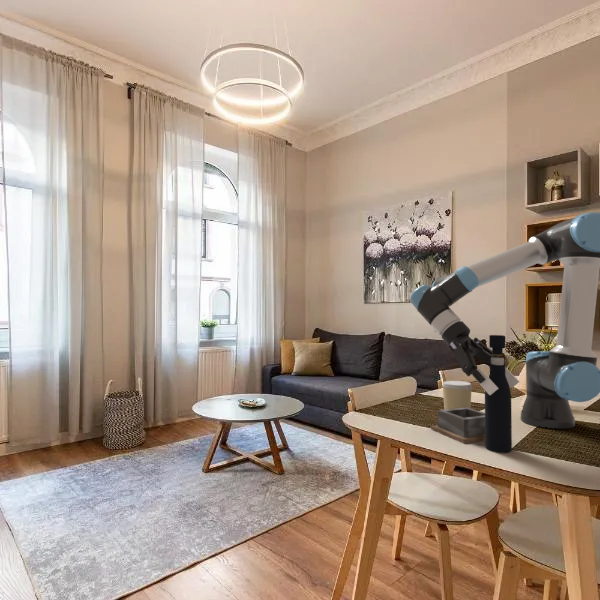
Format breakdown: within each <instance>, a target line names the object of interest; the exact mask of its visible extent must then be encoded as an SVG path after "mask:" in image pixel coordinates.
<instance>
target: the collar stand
mask: <svg viewBox="0 0 600 600" xmlns="http://www.w3.org/2000/svg"><path fill="white" fill-rule="evenodd" d="M437 415H438V416H437V418H438V421H437V423H438V424H437V425H431V426H430V429H431V431H434V432H436V433H438V434H441V435H443V436H446V437H448V438H451V439H452V440H456V441H457V442H459V443H462V444H468V443H476V442H482V441H484V442H485V412H483V411H480V410H477V409H474V408H471V407H470V408H467V407H466V408H456V409H447V410H444V409H439V410H437Z"/></svg>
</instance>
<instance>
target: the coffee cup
mask: <svg viewBox="0 0 600 600" xmlns="http://www.w3.org/2000/svg"><path fill="white" fill-rule="evenodd" d="M441 386H442V395H443V396H442V397H443V407H444V408H443V410H447V409H456V408H466V407H467V408H471V406H472V405H471V403H472V389H473V385H472V384H471V382H469V381H465V380H464V381H462V380H444V381H443V382H442V384H441Z"/></svg>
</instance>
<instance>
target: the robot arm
mask: <svg viewBox="0 0 600 600" xmlns="http://www.w3.org/2000/svg"><path fill="white" fill-rule="evenodd" d="M555 261H559V262H560V263H561V264H562V265H563V267H564V268H563V275H562V276H563V277H562V287H561V295H560V305H559V308H560V309H559V317H558V326H557V327H558V328H557V335H556V336H557V338H556V345H555V346H554V347H553V348H551V349H550V350H549V351H542V350H541V351H538V350H537V351H528V352H527V354H526V358H525V376H526V377H525V379H526V381H525V382H526V385H525V386H526V390H525V391H526V397H525V400H524V403H523V405H522V410H520V420H521V421H522V422H523V423H525V424H527V425H532V426H535V427H539V426H540V427H541V428H545V427H547V428H546V429H555V428H556V430H557V429H558V430H559V429H561V430H562V429H564V430H565V429H566V430H567V429H572V428H574V427H576V419H575V416H574V414H573V411H572V408H571V405H570V402H569V401H571V402H576V403H584V402H585V403H586V402H588V401H591V400H593V399H594V398H595V397H597V396H598V395H599V394H600V368H598V366H597V361H598V356H597V354H596V353H595V352H594V351H593V350H592V348H593V347H592V345H593V335H594V324H595V315H596V306H597V296H598V287H599V285H598V284H599V276H600V212H598V211H597V212H596V211H595V212H593V211H592V212H586V213H581V214H578V215H577V216H575V217H573V218H570V219H566V220H564V221H562V222H558V223H557V224H555V225H553V226H551V227H549V228H547V229H546V230H544V231H543V232H540V233H538V234H536V235H534V236H531V237H530V238H528V240H527V242H525V243H523V244H520V245H518V246H515V247H513V248H510V249H508V250H507V249H506V250H504V251H503V252H499V253H498V254H495V255H493V256H490V257H488V258H485V259H483V260H480V261H478V262H476V263H472V264H471V265H470V264H469V265H467V266H466V265H464V266H460V268H458V269H456V270H454V272H451V273H448V274H445V275H443V276H439V277H437V278H436V279H435V280H434V281H433V282H432V285H431V286H430V285H429V284H423V285H421V286H419V287H417V288H416V289H414V291H413V292H412V293H411V295H410V303H411V304H412V305H413V306H414V308H415V309H416V311H417V312H418V313H419V314H420V315H421V317H423V319H425V321H426V322H427V323H428V324H429V325H430V326H431V327H432V329H433V330H434V332H435V333H437V334H438V335H439V336H440V337H441V340H443V341H444V342H445V344H446V345H447V347H448V348H449V349H450V350H451V352H452V353H453V355H454V357H455V359H456V361H457V363H458V365H459V366H460V368H461V371H462V372H463V373H464V374H465V375H466V376H467V377H470V376H472V377H473V378H474V380H476V382H477V383H478V384H479V385H480V386H481V387H482V388H483V390H484V392H485V391H486V392H487V393H488V394H489V395H491V394H493V393H494V392H495V391H496V390H497V389H499V388H498V387H497V386H496V385H495V384H494V383H493V382H492V381H491V380H490V378H489V375H487V374H486V373H485V371H483V369H482V368H478V364H477V362H476V360H475V358H479V359H481V360H482V361H483V362H485V363H486V364H488V365H490V364H491V357H501V356H493V355H492V348H490V347H488V346H487V345H486V344H485V343H483V342H482V341H481V340H479V338H477V337H474V338H473V339H472V338H471V337H470V333H471V328H469V326H467V324H466V323H465V322H464V321H462V320H461V318H460V317H459V316H458V315H457V313H455V312H454V310H452V309H451V307H452V306H453V305H454V304H455V303H457V302H458V301H459V300H460V299H462V298H464V297H465V296H467V295H469V293H472V292H473V291H474V290H475V289H477V288H479V287H481V286H484V285H486V284H489V283H491V282H493V281H497V280H499V279H501V278H504V277H507V276H509V275H512V274H514V273H517V272H519V271H521V270H525V269H527V268H529V267H533V266H535V265H536V264H538V265H545V264H549V263H552V262H555ZM474 357H475V358H474ZM505 375H506V378H507V381H508V384H509V387H510V389H513V388H514V387H515V386H516V385H517V384H519V383H520V381H519V380H518V378H517V377H516V376H515V375H514V374H513V373H512V372H511V370H509V369H508V368H507V367H506V366H505Z"/></svg>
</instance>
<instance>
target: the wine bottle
mask: <svg viewBox="0 0 600 600" xmlns="http://www.w3.org/2000/svg"><path fill="white" fill-rule="evenodd" d="M488 341H489V347H488V348H489V349H491V350H492V355H493V356H500V357H491V364H489V375H488V377H489V378H490V380H491V381H492V382H493V383H494V384H495V385H496V386H497V387H498V388H499V389H497V390H496V391H495V392H494V393H493V394H491V395H489V394H488V393H487V392H486V391H485V390H484V413H485V440H484V448H485V449H486V450H487V451H490V452H494V453H501V454H507V453H511V452H513V448H512V446H513V443H512V441H513V440H512V437H513V434H512V432H513V431H512V428H513V427H512V422H513V421H512V393H511V387H510V386H509V384H508V381H507V378H506V375H505V367H506V364H505V359H504V357H503V355H504V354H503V352H504V351H503V349H506V335H501V334H490V335H489V339H488Z"/></svg>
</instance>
